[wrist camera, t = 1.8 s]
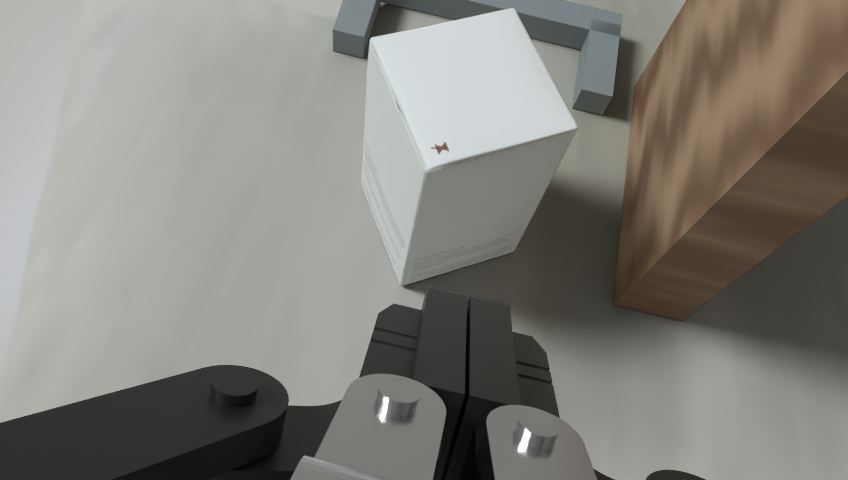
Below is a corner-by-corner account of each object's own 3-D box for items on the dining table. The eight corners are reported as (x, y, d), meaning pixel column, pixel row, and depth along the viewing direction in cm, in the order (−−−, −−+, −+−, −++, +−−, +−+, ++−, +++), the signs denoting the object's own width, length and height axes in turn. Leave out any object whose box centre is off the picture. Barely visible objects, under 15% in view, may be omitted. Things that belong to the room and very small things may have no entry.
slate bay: (602, 115, 46) (612, 96, 45) (333, 50, 46) (332, 29, 45) (611, 34, 50) (622, 14, 48) (359, -26, 49) (360, -49, 48)
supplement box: (518, 254, 42) (585, 132, 30) (397, 289, 40) (421, 174, 28) (472, 150, 44) (518, 2, 33) (357, 179, 43) (364, 33, 31)
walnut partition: (630, 81, 48) (854, -301, 27) (697, 97, 48) (972, -272, 27) (607, 308, 41) (890, 24, 20) (686, 327, 41) (1050, 63, 20)
